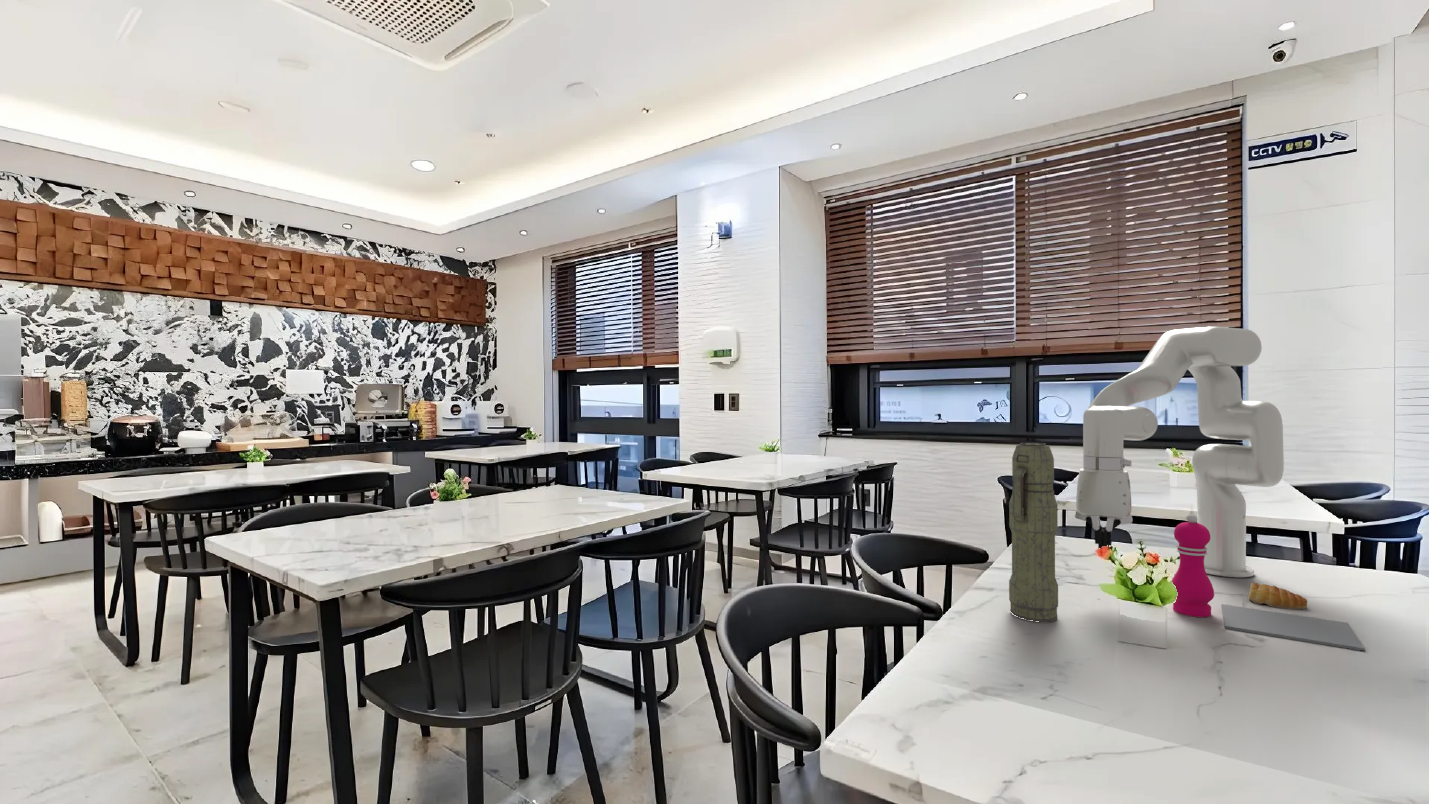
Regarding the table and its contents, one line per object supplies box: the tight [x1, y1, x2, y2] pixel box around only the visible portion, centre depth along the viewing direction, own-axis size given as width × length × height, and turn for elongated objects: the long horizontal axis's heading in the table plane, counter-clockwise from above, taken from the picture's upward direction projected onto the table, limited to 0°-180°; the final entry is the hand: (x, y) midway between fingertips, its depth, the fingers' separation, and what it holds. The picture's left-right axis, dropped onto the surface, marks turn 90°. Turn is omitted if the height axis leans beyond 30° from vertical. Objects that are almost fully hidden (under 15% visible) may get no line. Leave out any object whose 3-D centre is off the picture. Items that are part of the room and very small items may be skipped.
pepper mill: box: [1171, 514, 1215, 618], centre depth 131 cm, size 7×7×20 cm
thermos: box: [1008, 442, 1059, 623], centre depth 130 cm, size 9×12×35 cm
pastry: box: [1247, 582, 1308, 610], centre depth 136 cm, size 9×7×4 cm
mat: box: [1221, 603, 1366, 652], centre depth 123 cm, size 15×19×1 cm
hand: (1103, 547), depth 140 cm, fingers closed
